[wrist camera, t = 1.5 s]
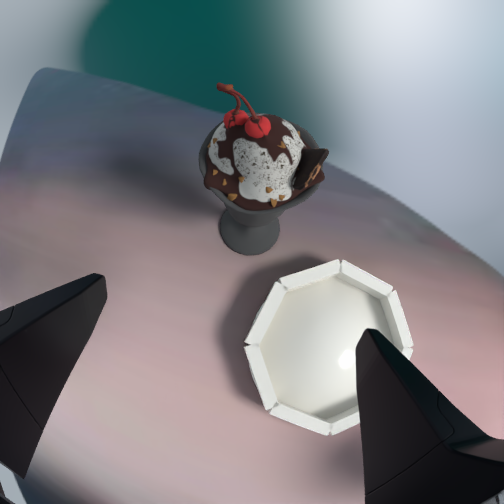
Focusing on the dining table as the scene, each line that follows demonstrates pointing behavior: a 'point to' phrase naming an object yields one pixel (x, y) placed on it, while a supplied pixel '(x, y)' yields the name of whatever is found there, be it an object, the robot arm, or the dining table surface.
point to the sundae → (258, 173)
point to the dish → (320, 343)
